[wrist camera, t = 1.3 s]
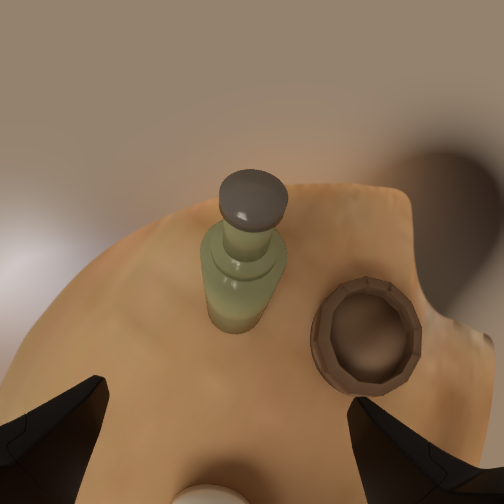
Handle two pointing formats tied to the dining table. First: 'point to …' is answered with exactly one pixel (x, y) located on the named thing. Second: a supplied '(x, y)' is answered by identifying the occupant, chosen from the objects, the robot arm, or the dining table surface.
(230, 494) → the white rounded puck
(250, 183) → the bottle
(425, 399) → the dining table surface
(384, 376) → the tray
